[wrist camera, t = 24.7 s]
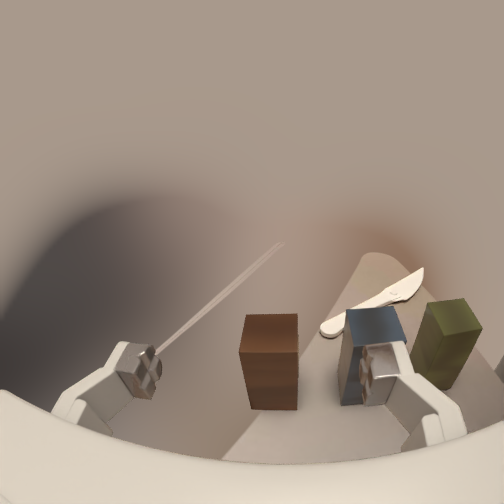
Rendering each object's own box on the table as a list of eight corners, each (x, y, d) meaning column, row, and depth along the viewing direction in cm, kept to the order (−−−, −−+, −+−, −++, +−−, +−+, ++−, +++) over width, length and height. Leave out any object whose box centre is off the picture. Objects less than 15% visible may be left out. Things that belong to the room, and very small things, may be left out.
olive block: (438, 358, 29) (463, 297, 25) (450, 388, 25) (483, 328, 20) (405, 364, 30) (427, 302, 25) (415, 396, 26) (444, 335, 21)
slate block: (376, 367, 31) (393, 305, 26) (383, 401, 26) (407, 341, 22) (337, 371, 32) (346, 308, 27) (340, 405, 27) (353, 346, 22)
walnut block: (297, 410, 28) (298, 351, 23) (251, 409, 28) (238, 352, 24) (298, 375, 32) (298, 313, 27) (256, 375, 33) (246, 314, 28)
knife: (333, 345, 35) (333, 339, 34) (314, 327, 39) (314, 322, 38) (440, 279, 44) (441, 274, 43) (422, 269, 47) (423, 264, 47)
